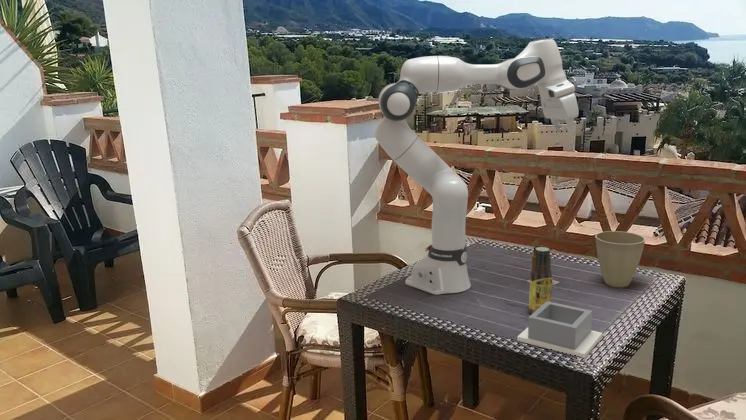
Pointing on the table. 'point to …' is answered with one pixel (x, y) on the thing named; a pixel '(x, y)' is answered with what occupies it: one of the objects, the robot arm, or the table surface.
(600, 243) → the plant pot
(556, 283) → the condiment
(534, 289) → the sauce bottle
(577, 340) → the box
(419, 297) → the table surface
